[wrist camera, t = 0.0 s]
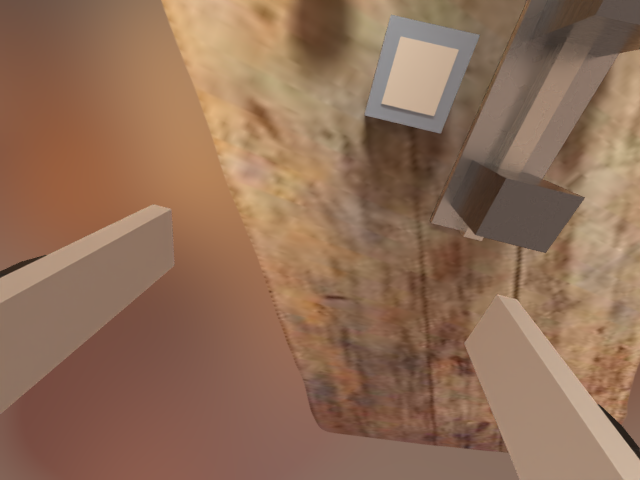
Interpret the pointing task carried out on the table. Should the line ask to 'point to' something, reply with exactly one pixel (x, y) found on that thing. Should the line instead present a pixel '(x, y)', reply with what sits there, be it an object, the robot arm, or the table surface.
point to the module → (419, 73)
